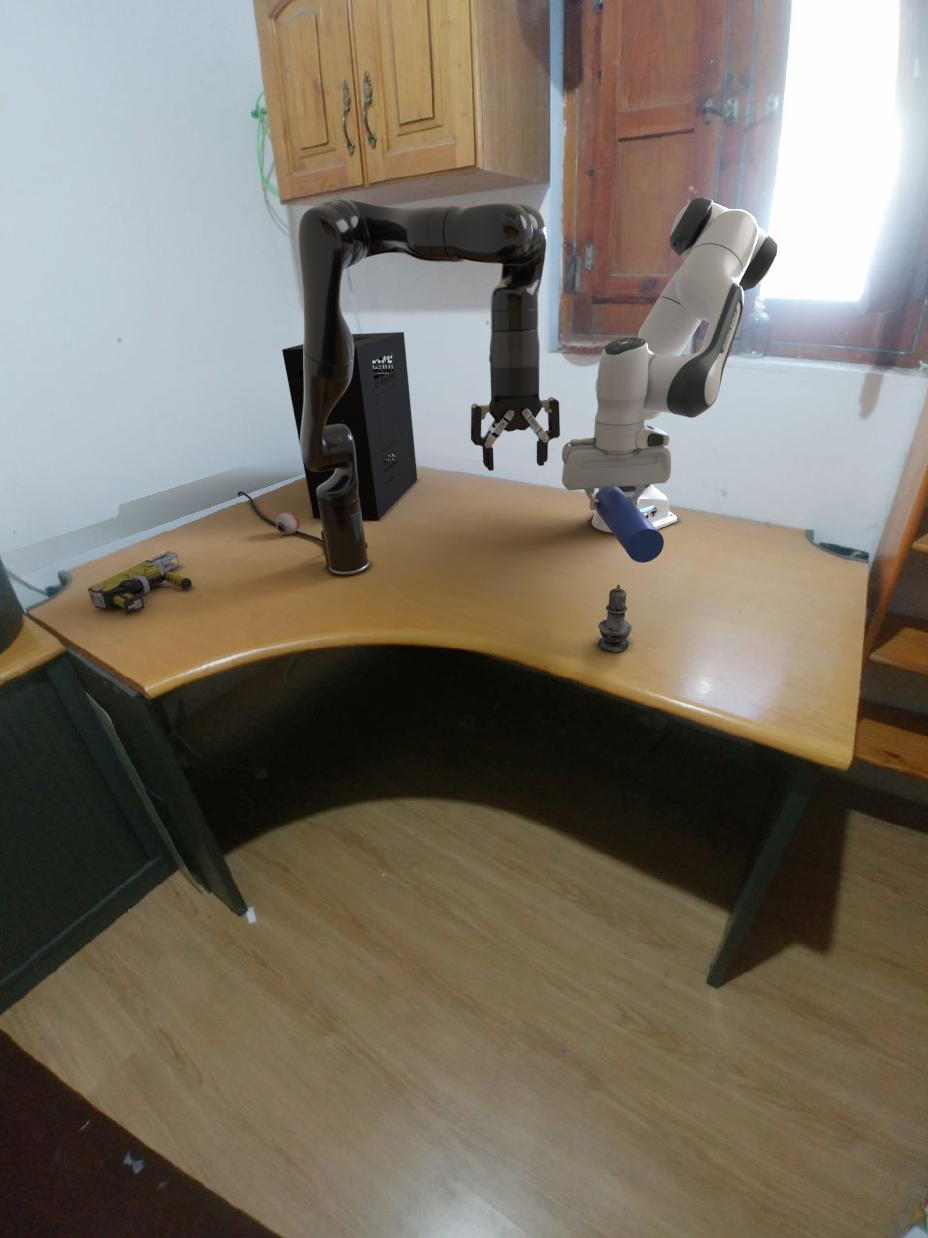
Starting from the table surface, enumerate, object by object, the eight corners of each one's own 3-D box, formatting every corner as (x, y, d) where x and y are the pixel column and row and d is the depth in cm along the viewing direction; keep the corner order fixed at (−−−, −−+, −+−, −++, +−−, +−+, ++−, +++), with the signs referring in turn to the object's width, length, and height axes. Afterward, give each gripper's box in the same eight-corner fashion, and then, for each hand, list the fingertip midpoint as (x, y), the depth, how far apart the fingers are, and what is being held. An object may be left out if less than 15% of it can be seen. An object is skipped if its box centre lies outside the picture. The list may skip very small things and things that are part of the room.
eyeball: (273, 537, 164) (268, 516, 161) (287, 528, 169) (282, 508, 166) (291, 539, 161) (286, 518, 158) (305, 530, 166) (301, 510, 163)
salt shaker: (630, 653, 106) (637, 593, 100) (596, 651, 107) (601, 591, 101) (629, 636, 111) (635, 577, 105) (597, 634, 112) (601, 576, 106)
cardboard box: (378, 519, 171) (356, 347, 149) (313, 517, 176) (282, 349, 153) (417, 479, 203) (403, 331, 180) (361, 478, 207) (341, 334, 185)
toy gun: (215, 559, 144) (165, 548, 148) (137, 602, 124) (81, 588, 128) (218, 577, 147) (168, 566, 151) (142, 621, 127) (87, 607, 131)
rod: (592, 516, 122) (594, 486, 119) (622, 513, 122) (625, 484, 119) (626, 564, 102) (628, 530, 99) (661, 561, 102) (665, 527, 99)
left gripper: (473, 368, 88) (477, 477, 96) (567, 361, 90) (563, 469, 98) (464, 362, 94) (469, 465, 102) (552, 355, 96) (550, 457, 104)
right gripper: (566, 444, 108) (564, 517, 115) (678, 435, 109) (669, 509, 116) (559, 436, 114) (557, 506, 121) (666, 428, 114) (658, 498, 121)
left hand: (515, 467), depth 100 cm, fingers open, 8 cm apart
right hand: (613, 507), depth 118 cm, fingers closed on rod, 6 cm apart
